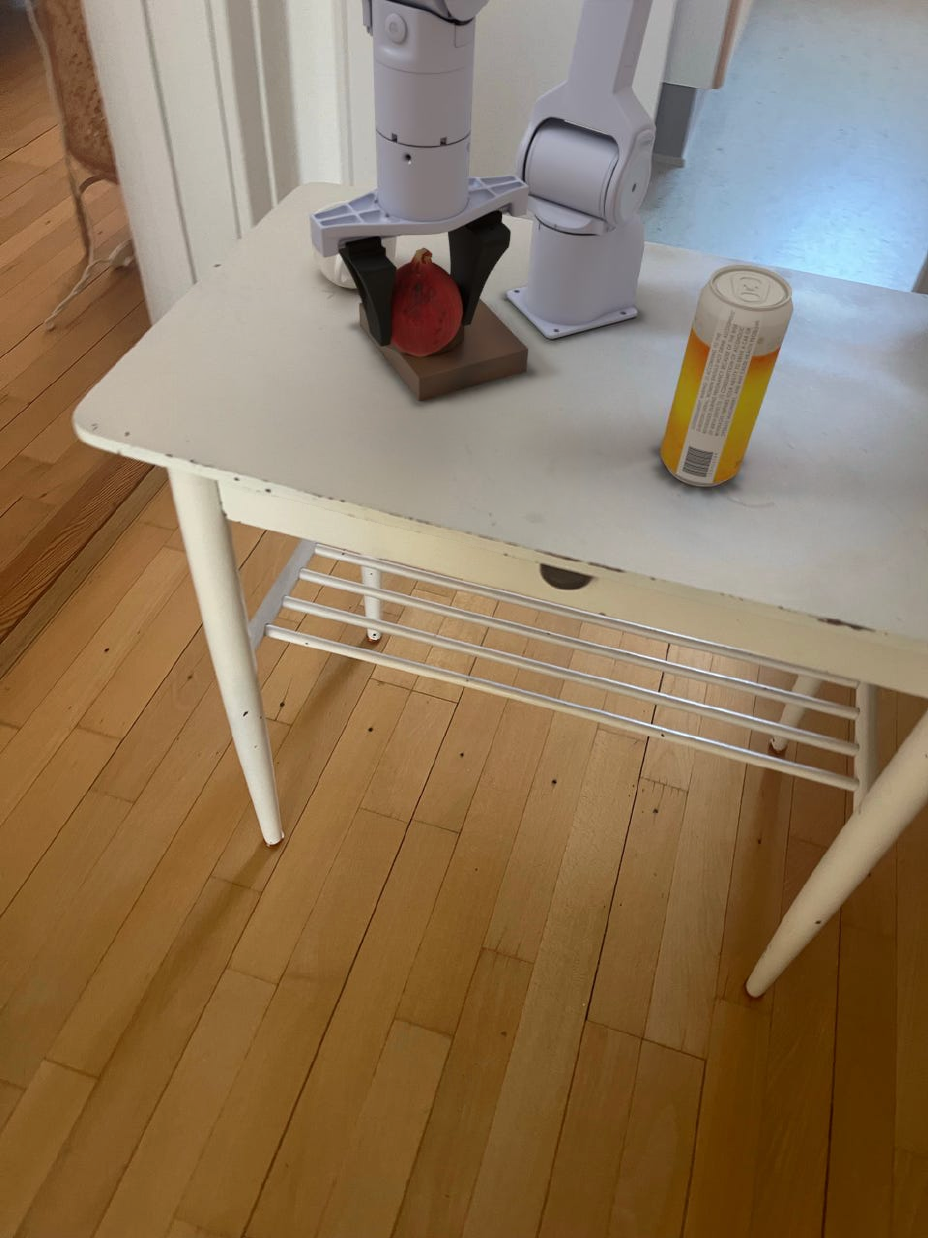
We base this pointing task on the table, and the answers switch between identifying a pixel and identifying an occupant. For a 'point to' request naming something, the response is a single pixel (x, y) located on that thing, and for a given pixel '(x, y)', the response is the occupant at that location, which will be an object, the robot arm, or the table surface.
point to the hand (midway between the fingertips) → (421, 328)
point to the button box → (459, 357)
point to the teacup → (335, 264)
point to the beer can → (725, 372)
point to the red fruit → (424, 306)
